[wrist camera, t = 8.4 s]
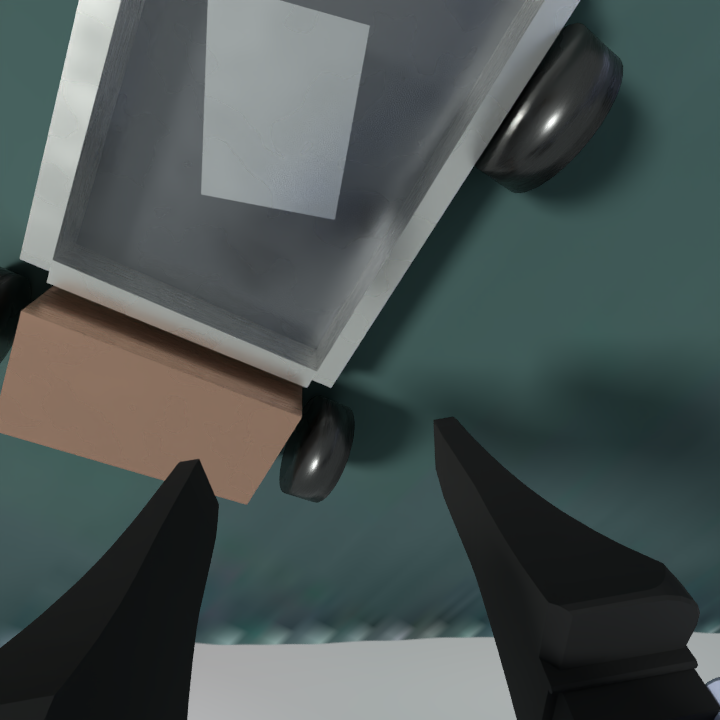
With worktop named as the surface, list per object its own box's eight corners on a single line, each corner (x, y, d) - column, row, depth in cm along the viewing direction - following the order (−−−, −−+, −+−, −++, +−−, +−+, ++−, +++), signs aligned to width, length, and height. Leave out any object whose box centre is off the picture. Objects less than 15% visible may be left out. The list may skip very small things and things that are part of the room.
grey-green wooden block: (352, 42, 16) (369, 25, 12) (327, 189, 18) (334, 219, 14) (236, 11, 15) (208, -20, 11) (226, 168, 17) (201, 194, 13)
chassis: (597, 16, 16) (699, -9, 12) (299, 464, 26) (298, 536, 22) (132, -427, 11) (20, -759, 7) (-26, 354, 21) (-111, 422, 16)
